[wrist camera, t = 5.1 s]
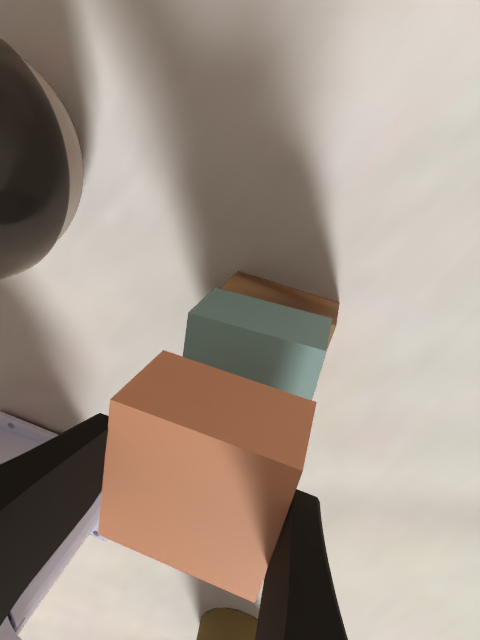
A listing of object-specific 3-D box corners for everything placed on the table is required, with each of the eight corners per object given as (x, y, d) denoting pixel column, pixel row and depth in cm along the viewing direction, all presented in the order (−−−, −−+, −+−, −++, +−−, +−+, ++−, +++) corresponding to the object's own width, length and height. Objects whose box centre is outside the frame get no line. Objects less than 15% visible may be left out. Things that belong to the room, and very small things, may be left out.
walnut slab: (219, 355, 22) (199, 384, 19) (239, 269, 20) (220, 288, 17) (308, 386, 21) (300, 420, 19) (339, 301, 19) (336, 325, 16)
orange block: (145, 467, 15) (97, 534, 12) (163, 350, 13) (110, 399, 10) (275, 519, 14) (255, 603, 11) (316, 402, 12) (302, 470, 9)
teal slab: (200, 384, 19) (174, 422, 17) (215, 287, 17) (188, 312, 14) (303, 416, 18) (293, 462, 16) (332, 318, 16) (326, 351, 14)
